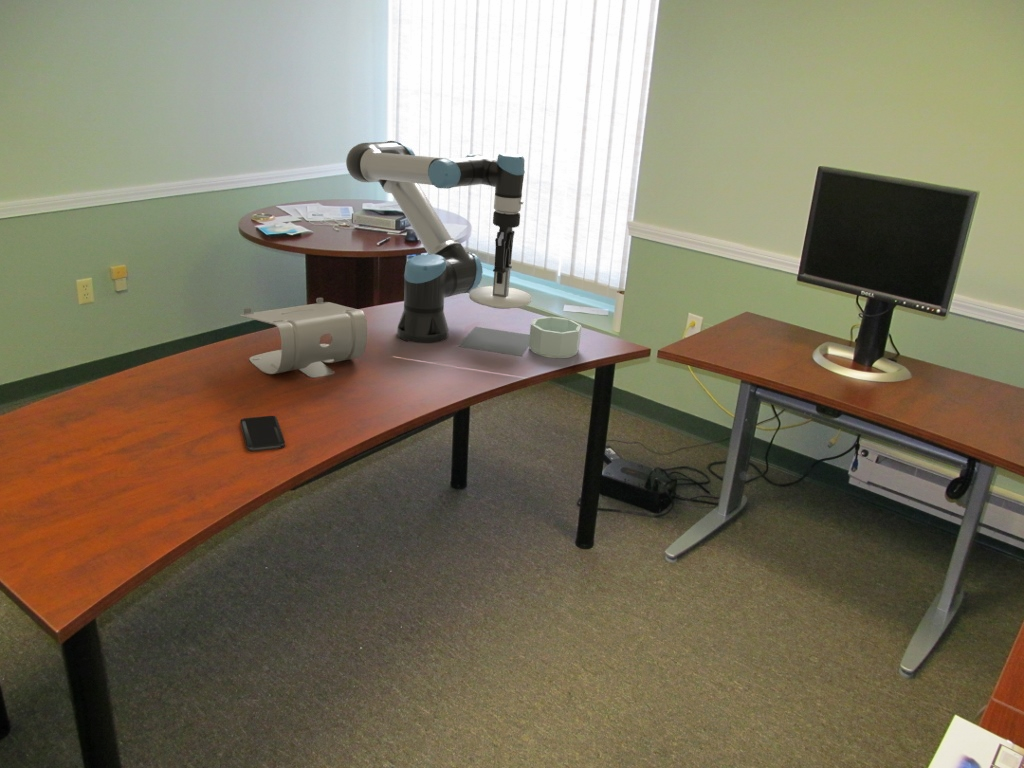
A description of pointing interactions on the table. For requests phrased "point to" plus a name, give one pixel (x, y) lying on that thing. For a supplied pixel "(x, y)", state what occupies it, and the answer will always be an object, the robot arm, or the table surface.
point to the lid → (506, 301)
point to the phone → (262, 433)
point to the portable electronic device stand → (312, 337)
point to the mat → (496, 341)
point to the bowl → (554, 337)
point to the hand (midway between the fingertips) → (500, 291)
